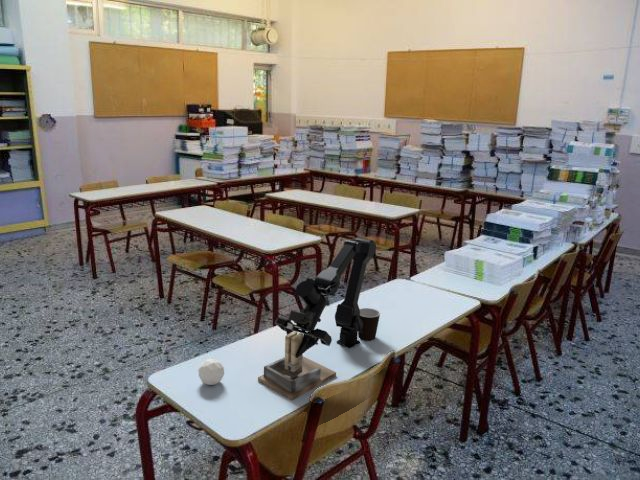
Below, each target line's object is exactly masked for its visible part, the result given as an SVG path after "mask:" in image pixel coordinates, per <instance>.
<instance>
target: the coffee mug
mask: <svg viewBox="0 0 640 480" xmlns="http://www.w3.org/2000/svg"><path fill="white" fill-rule="evenodd" d="M359 309H360V316H359V317H360V319H361V320H362V321H363V328H362V329H361V331H358V335H357V338H358V337H359V338H360V339H359V338H358V339H359V340H361V341H363V340H364V341H363V342H372V341H371V340H373V341H374V340H376V335H377V332H378V328H379V327H378V326H379V321H380V315H381V312H380V311H379V310H377V309H375V308H371V307H370V308H369V307H364V308H359Z"/></svg>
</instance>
